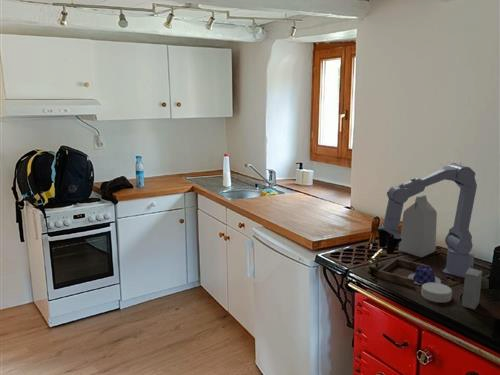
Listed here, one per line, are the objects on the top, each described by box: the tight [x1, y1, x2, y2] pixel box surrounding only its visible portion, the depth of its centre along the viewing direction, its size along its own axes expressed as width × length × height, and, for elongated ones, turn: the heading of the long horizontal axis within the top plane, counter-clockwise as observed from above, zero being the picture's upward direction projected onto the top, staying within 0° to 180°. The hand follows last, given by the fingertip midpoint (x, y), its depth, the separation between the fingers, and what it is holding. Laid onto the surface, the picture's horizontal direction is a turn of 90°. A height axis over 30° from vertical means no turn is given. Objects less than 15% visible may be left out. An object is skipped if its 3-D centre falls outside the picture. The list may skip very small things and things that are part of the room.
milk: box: [397, 194, 438, 258], centre depth 196 cm, size 12×12×26 cm
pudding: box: [407, 266, 442, 286], centre depth 166 cm, size 12×12×5 cm
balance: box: [366, 248, 388, 271], centre depth 180 cm, size 13×4×7 cm, turn 139°
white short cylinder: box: [420, 282, 453, 304], centre depth 153 cm, size 10×10×4 cm
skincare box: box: [461, 268, 483, 310], centre depth 146 cm, size 6×4×12 cm
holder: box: [377, 257, 431, 288], centre depth 172 cm, size 14×18×3 cm
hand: (385, 250), depth 169 cm, fingers open, 7 cm apart
